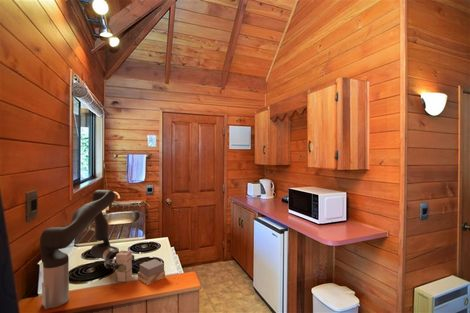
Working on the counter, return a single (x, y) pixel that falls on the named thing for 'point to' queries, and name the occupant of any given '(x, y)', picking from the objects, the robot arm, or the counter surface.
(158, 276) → the tower base
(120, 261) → the pinkish brown brick pillar
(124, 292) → the counter surface
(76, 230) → the robot arm
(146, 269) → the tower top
